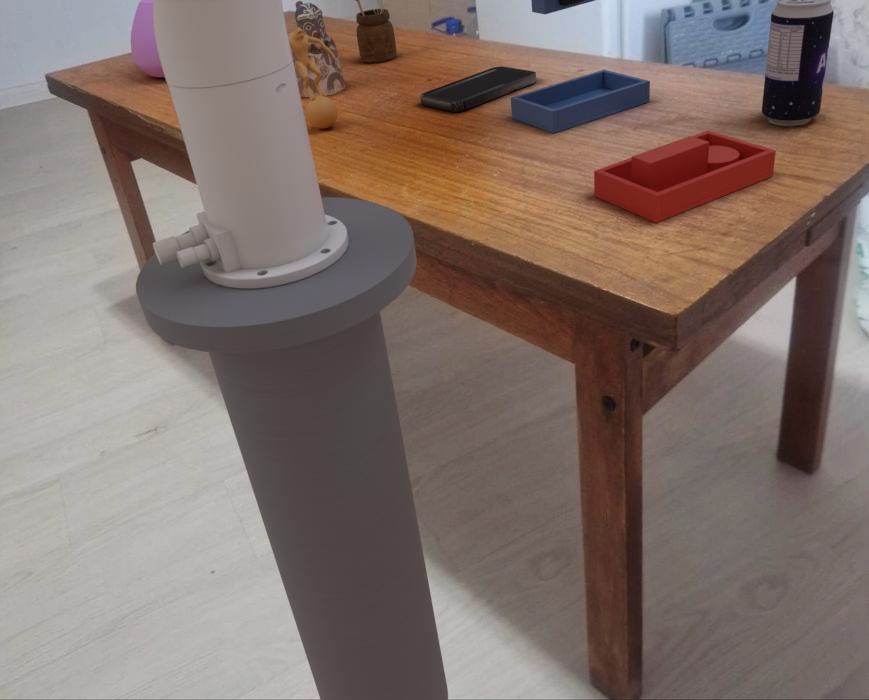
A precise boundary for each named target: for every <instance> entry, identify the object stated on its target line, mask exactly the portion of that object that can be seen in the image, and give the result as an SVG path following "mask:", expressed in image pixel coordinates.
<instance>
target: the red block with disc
mask: <svg viewBox="0 0 869 700" xmlns="http://www.w3.org/2000/svg"><path fill="white" fill-rule="evenodd" d="M692 136H693V135H688V136H686V137H683V138H680V139H678V140H675V141H672V142H669V143H667V144H663V145H661V146H657V147H654V148H651V149H649V150H646V151H644V152H641V153H637V154H634V155H632V156H631V158H632V167H631V182H633V183H635V184H638V185H640V186H643V187H645V188H648V189H651V190H653V191H656V192H659V191H662V190H664V189H667V188H670V187H672V186H675V185H678V184H680V183H683V182H685V181H688V180H691V179H693V178H696V177H699V176H701V175H704V174H706V173H709V172H712V171H714V170H717V169H720V168H722V167H725V166H727V165H730V164H733V163H735V162H738V161H739V155H740V154H739V152H738V151H737V150H736V149H733V148H730V147H726V146H709V142H708V141H705V140H701V139H698V138H695V137H692Z"/></svg>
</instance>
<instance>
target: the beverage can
mask: <svg viewBox="0 0 869 700" xmlns="http://www.w3.org/2000/svg"><path fill="white" fill-rule="evenodd" d="M831 1H832V0H776V5H775V7H774V9H773V10H772V12H771V14H770V26H769V33H768V34H769V35H768V44H767V54H766V64H765V74H764V83H763V91H762V92H763V94H762V103H761V114H762V115H763V116H764V117H765V118H766V119H767V120H768V122H769V123H771V124H772V125H776V126H782V127H797V126H803V125H806V124H808V123H809V122H811V120H812V119H813V118H815V117H816V116H817V115H819V114H820V113H821V105H822V98H823V92H824V85H825V79H826V70H827V63H828V56H829V49H830V41H831V34H832V28H833V20H834V14H835V13H834V9H833V6H832V4H831Z"/></svg>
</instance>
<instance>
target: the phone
mask: <svg viewBox="0 0 869 700" xmlns="http://www.w3.org/2000/svg"><path fill="white" fill-rule="evenodd" d="M536 82H537V72H536V71H533V70H528V69H522V68H515V67H508V66H503V65H502V66H494V67H491V68H489V69H485V70H483V71H480V72H477V73H474V74H472V75H469V76H466V77H463V78H461V79H458V80H456V81H453V82H450V83H447V84H444V85H442V86H439V87H436V88H433V89H430V90H428V91H425V92H422V93H421V94H420V95H419V97H420V104H421V106H424V107H430V108H433V109H438V110H443V111H446V112H451V113H460V112H464V111H467V110H469V109H471V108H475V107H476V106H479V105H482V104H484V103H487V102H488V101H489V102H490V101H492V100H494V99H496V98H499V97H502V96H505V95H507V94H509V93H512V92H515V91H517V90H520V89H522V88H525V87H527V86H530V85H532V84H535V83H536Z"/></svg>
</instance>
